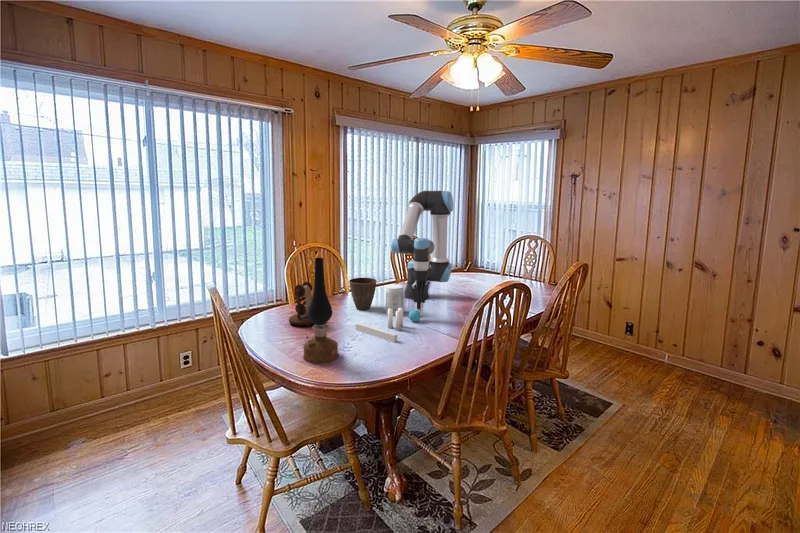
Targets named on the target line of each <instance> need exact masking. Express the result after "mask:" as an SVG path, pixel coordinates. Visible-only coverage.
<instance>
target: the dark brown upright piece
mask: <svg viewBox="0 0 800 533" xmlns="http://www.w3.org/2000/svg"><path fill="white" fill-rule="evenodd" d="M312 291H313V286H312V284H311V282H309V281H304V282H303V283H302V284H296V285H295V287H294V293H295V295H296V299H295V303H296V305H295V306H294V307H295V308H294V309H295V312H296V313H294V314H293V315H291V316H289V318H288V323H289V325H290V324H291V325H298V326H304V325H306V328H308V327H310V325H312V324H313V325H314V322H312V321H311V320H310V319H309V317H308V308H309V305H310V302H311V299H312ZM302 301H303V302H302ZM301 302H302V303H301Z"/></svg>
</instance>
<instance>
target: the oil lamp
mask: <svg viewBox="0 0 800 533" xmlns="http://www.w3.org/2000/svg"><path fill="white" fill-rule="evenodd" d="M324 269H325V268H324V258H323V257H315V258H314V276H313V277H314V279H313V280H314V282H313V292H312V295H311V297H312V299H311V302H310V305H309V308H308V317H309V319H310V320H311V321H312V322H314V323H313V326H312V330H313V333H314V336H308V334H307V335H306V340H307V341H306V342H305V343H304V344H303V357H302V358H303V361H305V362H307V363H310V364H326V363H327V364H328V363H332V362H334V361H335V360H337V359H338V358H339V353H338V349H339V348H338V345H339V344H338V342H337V340H334V339H332V338H330V337H329V336H327V331H328V329H329V325H328V324H327V323H328V322H329V320H330V319H331V318H332V316H333V308H332V305H331V303H330V301H329V297H328V295H327V294H328V293H327V292H326V290H327V289H326V285H325V284H326V282H325V272H324V271H325V270H324ZM309 338H311V339H309ZM308 339H309V340H308Z"/></svg>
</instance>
